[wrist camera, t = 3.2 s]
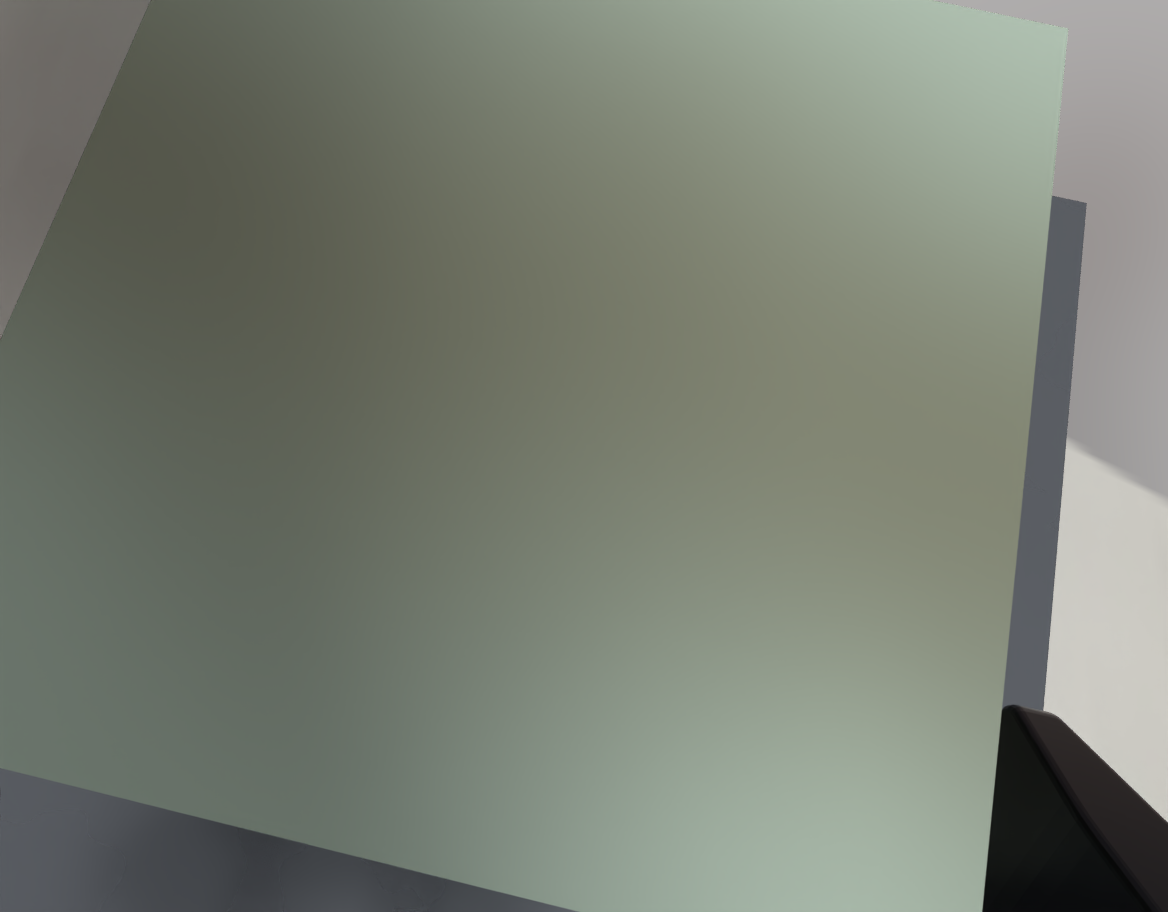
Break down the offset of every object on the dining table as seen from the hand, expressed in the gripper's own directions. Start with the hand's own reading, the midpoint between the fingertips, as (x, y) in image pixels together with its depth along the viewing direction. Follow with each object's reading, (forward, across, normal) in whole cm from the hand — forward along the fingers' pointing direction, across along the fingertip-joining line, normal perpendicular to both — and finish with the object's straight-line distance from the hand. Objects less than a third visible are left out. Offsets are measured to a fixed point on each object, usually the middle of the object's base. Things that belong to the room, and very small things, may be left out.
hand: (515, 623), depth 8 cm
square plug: (+7, 0, +6) cm, 9 cm away
